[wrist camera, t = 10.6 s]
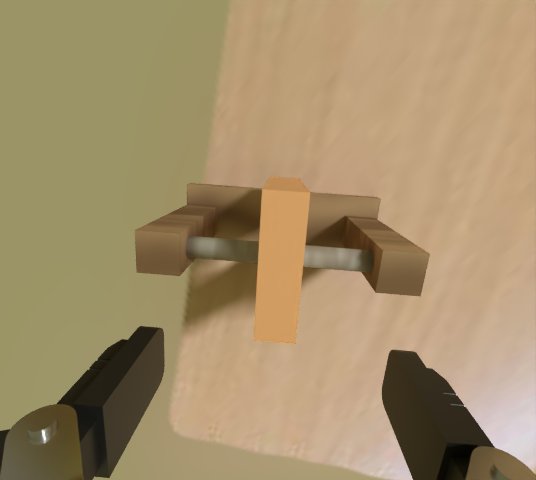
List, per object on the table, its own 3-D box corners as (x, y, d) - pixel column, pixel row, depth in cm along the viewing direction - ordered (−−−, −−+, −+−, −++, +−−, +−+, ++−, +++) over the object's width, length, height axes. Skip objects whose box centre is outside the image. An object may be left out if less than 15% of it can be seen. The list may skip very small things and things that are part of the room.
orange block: (270, 176, 29) (262, 189, 18) (299, 178, 29) (310, 192, 18) (264, 274, 32) (253, 340, 20) (291, 276, 32) (295, 343, 20)
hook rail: (190, 183, 33) (128, 199, 20) (377, 197, 32) (441, 224, 19) (190, 245, 35) (133, 298, 22) (366, 259, 34) (419, 323, 21)
